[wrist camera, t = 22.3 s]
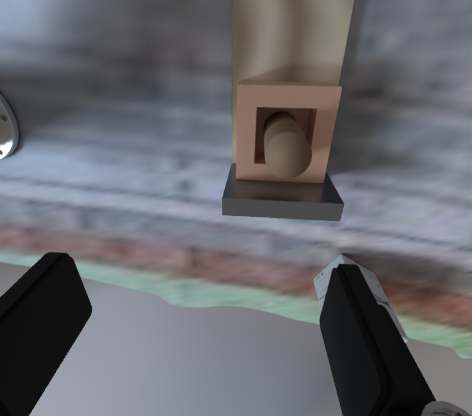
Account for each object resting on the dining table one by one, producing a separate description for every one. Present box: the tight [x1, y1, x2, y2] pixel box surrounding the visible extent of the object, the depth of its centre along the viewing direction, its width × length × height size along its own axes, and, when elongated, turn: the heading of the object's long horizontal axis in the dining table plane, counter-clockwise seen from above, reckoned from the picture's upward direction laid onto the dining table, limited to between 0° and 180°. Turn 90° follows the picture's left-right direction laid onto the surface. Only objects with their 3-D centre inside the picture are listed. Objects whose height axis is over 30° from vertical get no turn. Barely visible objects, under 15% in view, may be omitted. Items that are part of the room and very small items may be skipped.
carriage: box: [236, 81, 342, 183], centre depth 30 cm, size 10×10×5 cm
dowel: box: [263, 111, 312, 178], centre depth 27 cm, size 4×4×10 cm
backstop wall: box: [222, 163, 344, 221], centre depth 31 cm, size 12×2×12 cm, turn 90°
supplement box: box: [314, 254, 409, 343], centre depth 40 cm, size 7×7×13 cm
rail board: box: [232, 0, 354, 164], centre depth 30 cm, size 12×28×2 cm, turn 0°
